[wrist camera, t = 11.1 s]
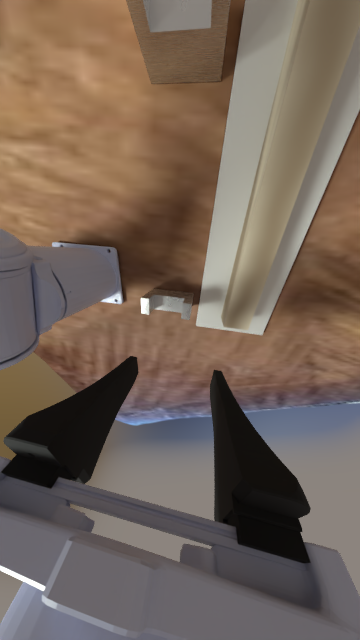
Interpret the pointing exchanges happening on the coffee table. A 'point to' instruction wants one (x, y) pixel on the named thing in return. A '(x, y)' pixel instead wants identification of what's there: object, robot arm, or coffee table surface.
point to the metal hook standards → (179, 73)
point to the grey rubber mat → (244, 152)
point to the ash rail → (289, 143)
